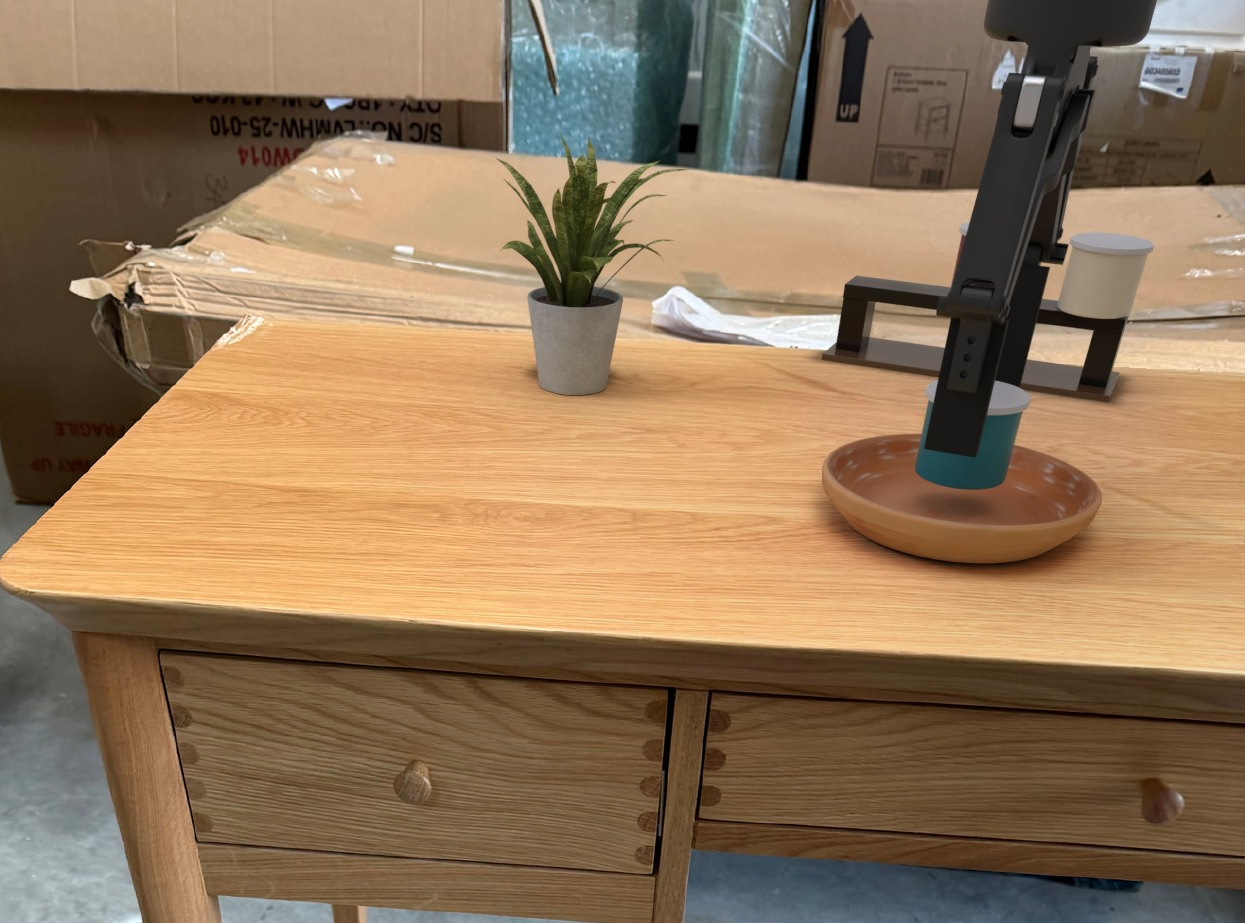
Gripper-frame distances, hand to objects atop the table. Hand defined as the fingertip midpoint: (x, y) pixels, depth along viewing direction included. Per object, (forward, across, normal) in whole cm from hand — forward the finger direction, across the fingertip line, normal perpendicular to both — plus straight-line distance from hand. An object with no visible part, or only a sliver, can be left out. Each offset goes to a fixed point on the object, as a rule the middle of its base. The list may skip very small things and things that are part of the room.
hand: (975, 416), depth 69 cm
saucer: (+7, 0, 0) cm, 7 cm away
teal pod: (+3, 0, 0) cm, 3 cm away
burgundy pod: (0, -31, -5) cm, 32 cm away
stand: (+6, -31, -5) cm, 32 cm away
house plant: (+6, -13, -30) cm, 34 cm away
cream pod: (0, -31, +3) cm, 31 cm away
